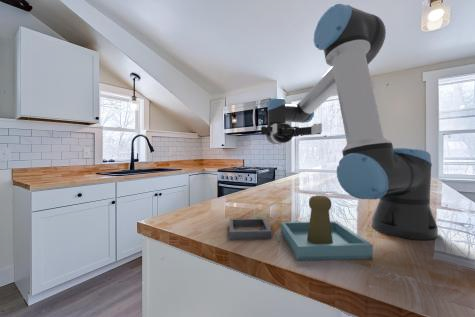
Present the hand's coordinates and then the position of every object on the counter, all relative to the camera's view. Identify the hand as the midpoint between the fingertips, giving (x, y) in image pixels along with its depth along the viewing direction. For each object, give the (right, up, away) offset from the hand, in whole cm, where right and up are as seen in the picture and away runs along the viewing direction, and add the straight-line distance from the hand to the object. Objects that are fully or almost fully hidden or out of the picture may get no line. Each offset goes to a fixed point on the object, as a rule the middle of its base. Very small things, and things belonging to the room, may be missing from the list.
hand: (298, 127), depth 67 cm
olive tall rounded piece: (+2, -30, -12) cm, 32 cm away
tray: (+2, -30, -12) cm, 33 cm away
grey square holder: (-15, -30, -3) cm, 34 cm away
